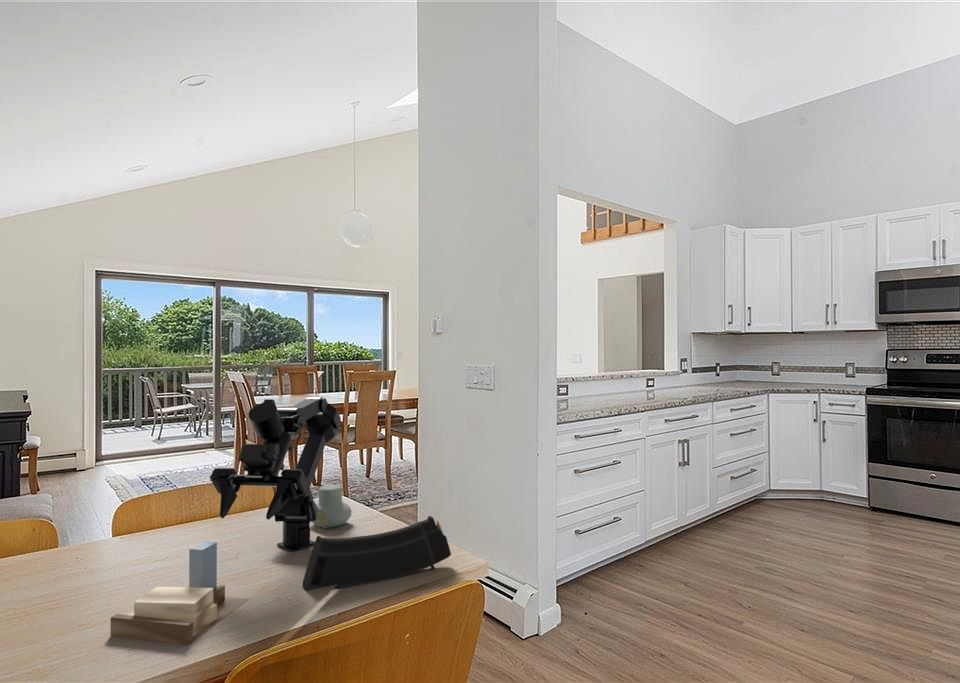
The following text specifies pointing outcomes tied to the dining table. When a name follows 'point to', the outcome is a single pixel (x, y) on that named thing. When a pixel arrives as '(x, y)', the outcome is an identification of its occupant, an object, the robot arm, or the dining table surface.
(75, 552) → the dining table surface
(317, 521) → the air freshener
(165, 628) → the walnut rack
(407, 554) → the magazine
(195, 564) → the tall board
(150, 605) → the offcut stack
